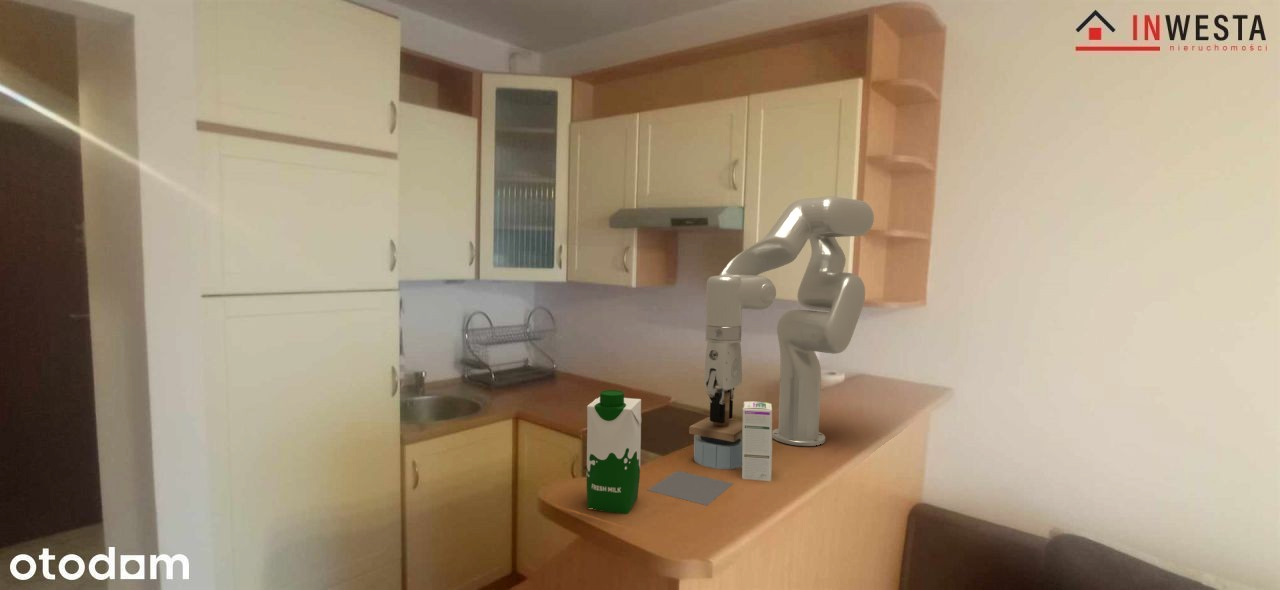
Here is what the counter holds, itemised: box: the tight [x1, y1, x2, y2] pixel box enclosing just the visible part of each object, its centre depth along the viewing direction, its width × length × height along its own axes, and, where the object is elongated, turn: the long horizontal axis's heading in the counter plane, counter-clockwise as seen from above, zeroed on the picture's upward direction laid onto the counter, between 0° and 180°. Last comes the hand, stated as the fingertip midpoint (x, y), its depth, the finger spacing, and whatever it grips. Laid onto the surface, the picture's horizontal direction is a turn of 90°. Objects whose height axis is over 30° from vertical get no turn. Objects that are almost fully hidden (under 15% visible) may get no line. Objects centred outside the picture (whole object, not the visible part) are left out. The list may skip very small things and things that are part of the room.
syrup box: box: [741, 400, 773, 482], centre depth 110 cm, size 6×6×14 cm
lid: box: [688, 391, 743, 442], centre depth 119 cm, size 10×10×8 cm
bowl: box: [693, 434, 742, 470], centre depth 119 cm, size 11×11×5 cm
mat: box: [647, 470, 734, 507], centre depth 104 cm, size 12×12×1 cm
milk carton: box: [586, 389, 642, 515], centre depth 96 cm, size 9×9×20 cm
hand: (721, 418), depth 119 cm, fingers closed on lid, 3 cm apart
